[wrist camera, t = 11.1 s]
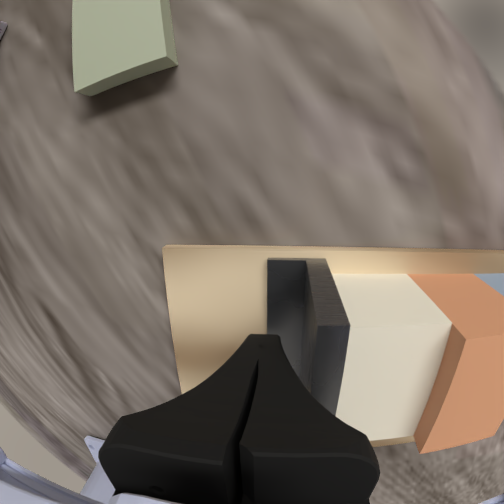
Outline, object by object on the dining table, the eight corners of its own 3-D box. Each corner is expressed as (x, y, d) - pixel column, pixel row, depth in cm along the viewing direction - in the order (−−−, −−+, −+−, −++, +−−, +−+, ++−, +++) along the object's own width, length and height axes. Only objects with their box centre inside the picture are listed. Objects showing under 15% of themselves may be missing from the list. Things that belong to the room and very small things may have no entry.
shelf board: (461, 425, 15) (464, 431, 15) (193, 435, 17) (191, 442, 16) (519, 250, 12) (525, 253, 11) (166, 244, 14) (162, 248, 13)
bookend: (314, 386, 14) (321, 476, 9) (266, 385, 14) (255, 475, 9) (325, 258, 12) (350, 325, 7) (267, 257, 13) (254, 324, 7)
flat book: (180, 67, 12) (166, 55, 10) (95, 97, 13) (74, 92, 11) (168, -28, 11) (155, -45, 9) (90, 4, 11) (73, -8, 9)
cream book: (387, 370, 14) (413, 435, 9) (315, 373, 14) (322, 443, 10) (406, 273, 12) (452, 323, 8) (324, 273, 13) (341, 327, 8)
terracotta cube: (449, 364, 13) (493, 435, 8) (387, 370, 14) (419, 454, 8) (472, 273, 12) (543, 327, 7) (406, 274, 12) (466, 339, 7)
